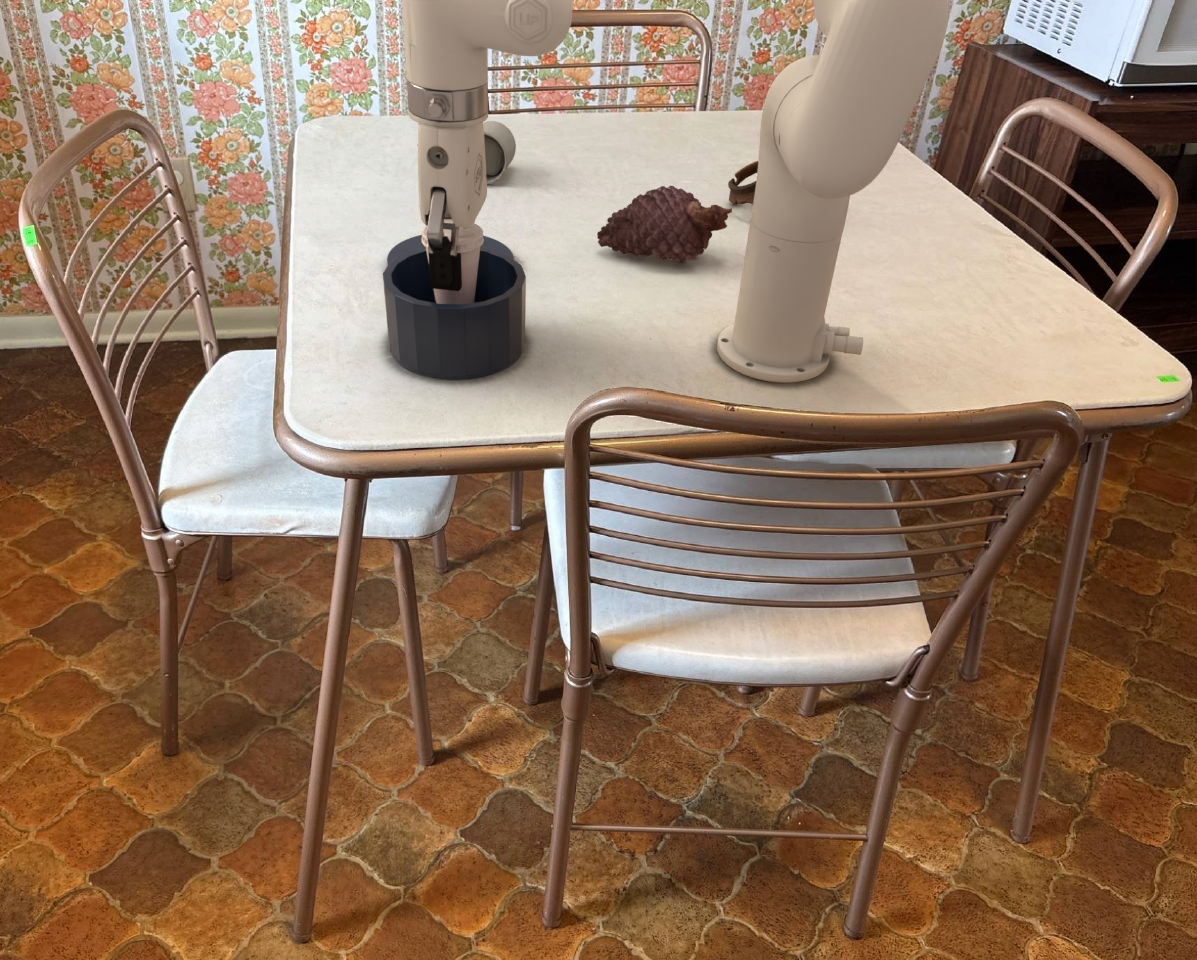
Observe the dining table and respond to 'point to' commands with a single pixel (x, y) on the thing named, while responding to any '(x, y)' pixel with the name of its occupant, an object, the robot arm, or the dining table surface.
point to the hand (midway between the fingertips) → (454, 271)
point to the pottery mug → (743, 192)
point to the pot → (455, 319)
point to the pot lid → (417, 243)
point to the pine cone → (663, 225)
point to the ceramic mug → (497, 149)
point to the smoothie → (469, 264)
